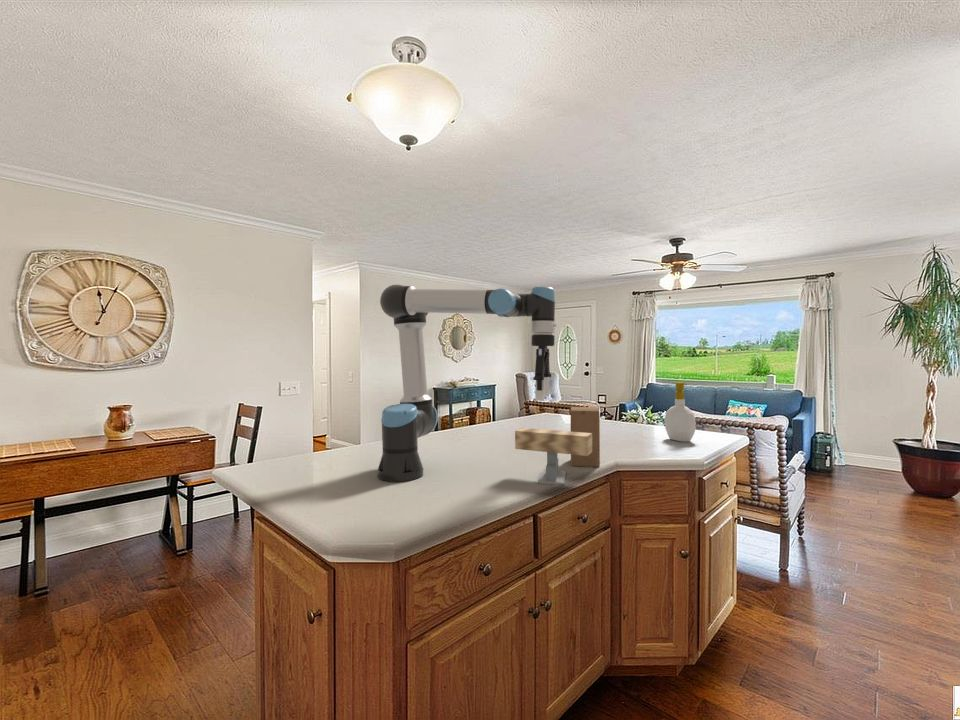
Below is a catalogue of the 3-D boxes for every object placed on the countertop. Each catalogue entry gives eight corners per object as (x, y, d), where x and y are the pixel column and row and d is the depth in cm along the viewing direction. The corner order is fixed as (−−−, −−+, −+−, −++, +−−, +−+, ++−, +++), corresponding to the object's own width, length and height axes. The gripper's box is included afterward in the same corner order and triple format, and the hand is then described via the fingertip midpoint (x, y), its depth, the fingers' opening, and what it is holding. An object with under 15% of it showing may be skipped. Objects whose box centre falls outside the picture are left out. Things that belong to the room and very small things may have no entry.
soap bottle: (701, 441, 201) (701, 382, 200) (689, 444, 196) (689, 383, 196) (672, 436, 213) (672, 380, 213) (660, 438, 209) (660, 381, 208)
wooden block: (599, 467, 161) (599, 410, 160) (570, 466, 163) (570, 410, 162) (598, 460, 171) (598, 407, 170) (571, 459, 173) (570, 406, 172)
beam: (515, 448, 151) (515, 430, 151) (522, 445, 157) (521, 427, 157) (587, 456, 140) (587, 436, 140) (592, 451, 146) (592, 433, 146)
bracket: (537, 483, 143) (537, 454, 143) (542, 471, 157) (542, 445, 156) (563, 484, 141) (563, 455, 141) (566, 472, 155) (565, 446, 155)
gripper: (550, 333, 138) (549, 403, 139) (558, 335, 162) (557, 394, 163) (525, 333, 140) (525, 402, 141) (536, 335, 164) (536, 394, 165)
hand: (542, 398), depth 152 cm, fingers open, 13 cm apart
